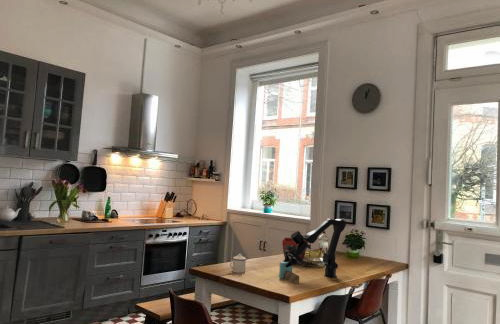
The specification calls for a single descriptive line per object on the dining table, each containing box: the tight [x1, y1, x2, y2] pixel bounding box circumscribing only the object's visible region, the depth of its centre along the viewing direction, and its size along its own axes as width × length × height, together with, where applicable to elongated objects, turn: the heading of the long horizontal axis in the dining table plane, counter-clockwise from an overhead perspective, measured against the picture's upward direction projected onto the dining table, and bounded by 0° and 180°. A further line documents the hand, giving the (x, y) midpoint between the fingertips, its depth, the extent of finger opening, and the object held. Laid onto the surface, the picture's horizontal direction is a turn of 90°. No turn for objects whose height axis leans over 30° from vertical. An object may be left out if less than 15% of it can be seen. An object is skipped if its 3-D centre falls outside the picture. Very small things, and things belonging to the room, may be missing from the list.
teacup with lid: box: [229, 253, 247, 274], centre depth 270 cm, size 12×9×12 cm
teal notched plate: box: [278, 261, 294, 280], centre depth 260 cm, size 8×2×10 cm, turn 111°
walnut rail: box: [283, 271, 300, 285], centre depth 254 cm, size 20×2×5 cm, turn 21°
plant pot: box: [281, 237, 309, 264], centre depth 318 cm, size 19×19×17 cm
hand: (284, 266), depth 260 cm, fingers open, 5 cm apart
